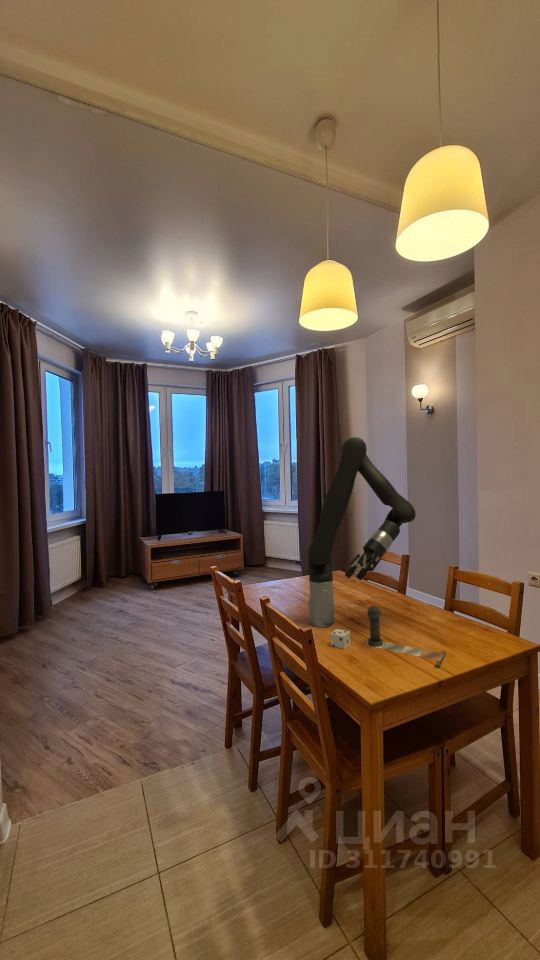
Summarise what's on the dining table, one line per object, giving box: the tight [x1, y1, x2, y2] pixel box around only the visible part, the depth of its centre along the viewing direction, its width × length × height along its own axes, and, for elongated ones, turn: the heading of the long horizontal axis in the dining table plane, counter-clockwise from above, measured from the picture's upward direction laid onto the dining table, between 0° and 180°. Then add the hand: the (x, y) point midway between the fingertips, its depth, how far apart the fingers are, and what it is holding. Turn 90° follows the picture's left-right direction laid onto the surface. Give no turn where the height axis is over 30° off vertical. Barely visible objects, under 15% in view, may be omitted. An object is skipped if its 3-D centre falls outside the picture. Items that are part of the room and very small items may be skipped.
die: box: [329, 628, 351, 650], centre depth 131 cm, size 5×5×5 cm
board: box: [364, 641, 447, 669], centre depth 125 cm, size 24×11×1 cm, turn 56°
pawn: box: [366, 605, 384, 648], centre depth 130 cm, size 5×5×13 cm
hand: (352, 577), depth 140 cm, fingers open, 8 cm apart
